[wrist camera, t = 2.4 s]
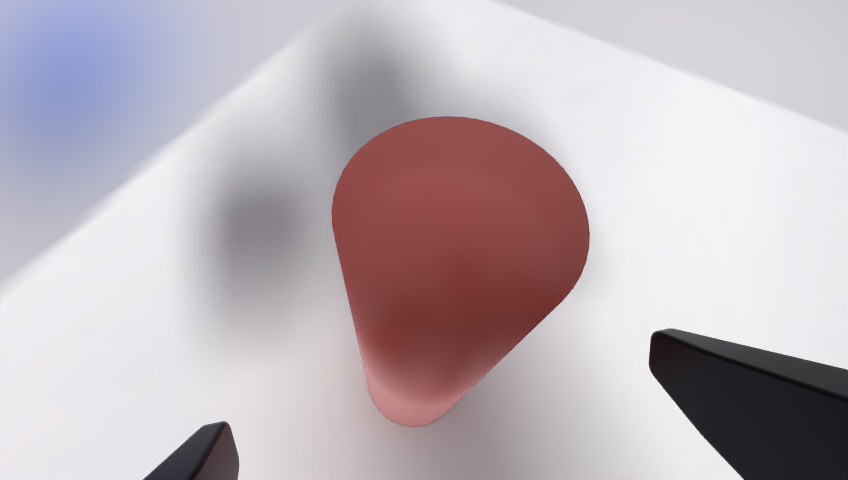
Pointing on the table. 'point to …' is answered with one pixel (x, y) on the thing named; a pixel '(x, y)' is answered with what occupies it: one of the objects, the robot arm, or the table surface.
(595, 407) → the table surface
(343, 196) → the plug
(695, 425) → the robot arm
